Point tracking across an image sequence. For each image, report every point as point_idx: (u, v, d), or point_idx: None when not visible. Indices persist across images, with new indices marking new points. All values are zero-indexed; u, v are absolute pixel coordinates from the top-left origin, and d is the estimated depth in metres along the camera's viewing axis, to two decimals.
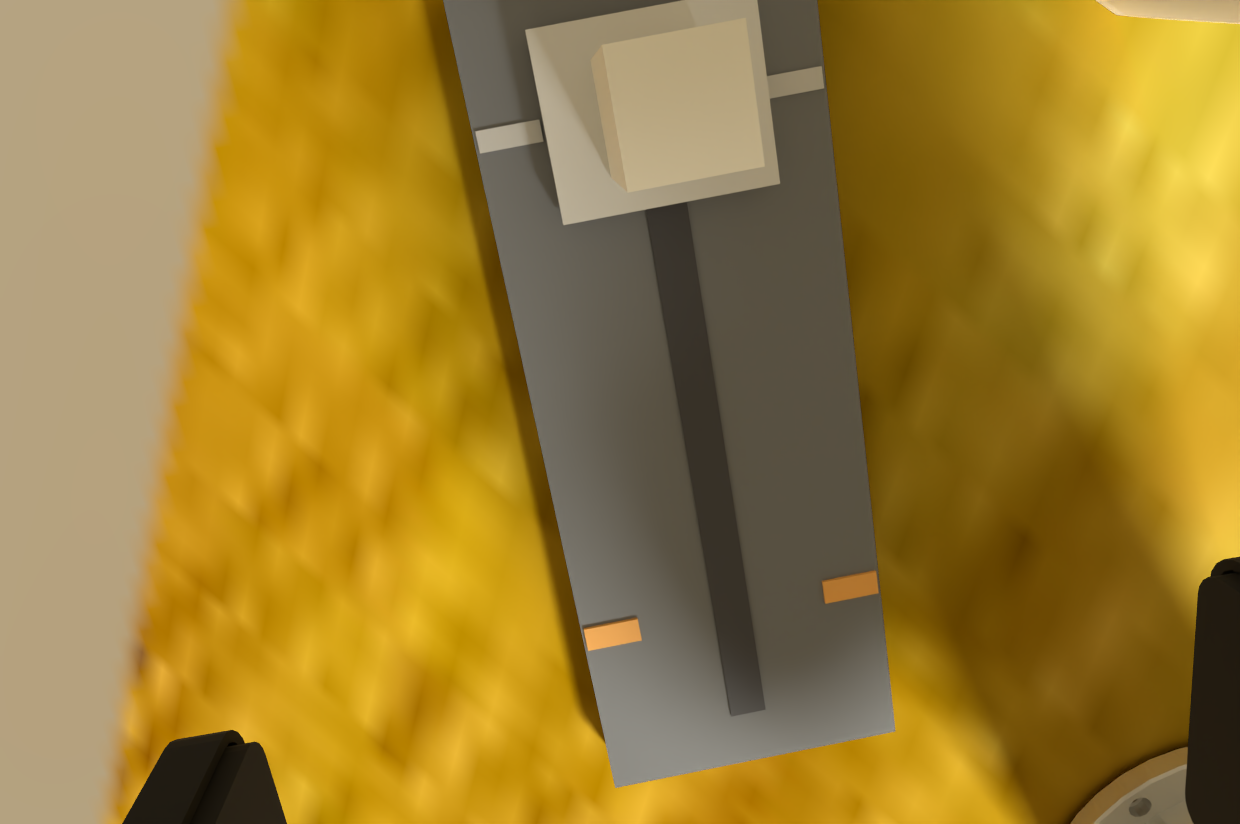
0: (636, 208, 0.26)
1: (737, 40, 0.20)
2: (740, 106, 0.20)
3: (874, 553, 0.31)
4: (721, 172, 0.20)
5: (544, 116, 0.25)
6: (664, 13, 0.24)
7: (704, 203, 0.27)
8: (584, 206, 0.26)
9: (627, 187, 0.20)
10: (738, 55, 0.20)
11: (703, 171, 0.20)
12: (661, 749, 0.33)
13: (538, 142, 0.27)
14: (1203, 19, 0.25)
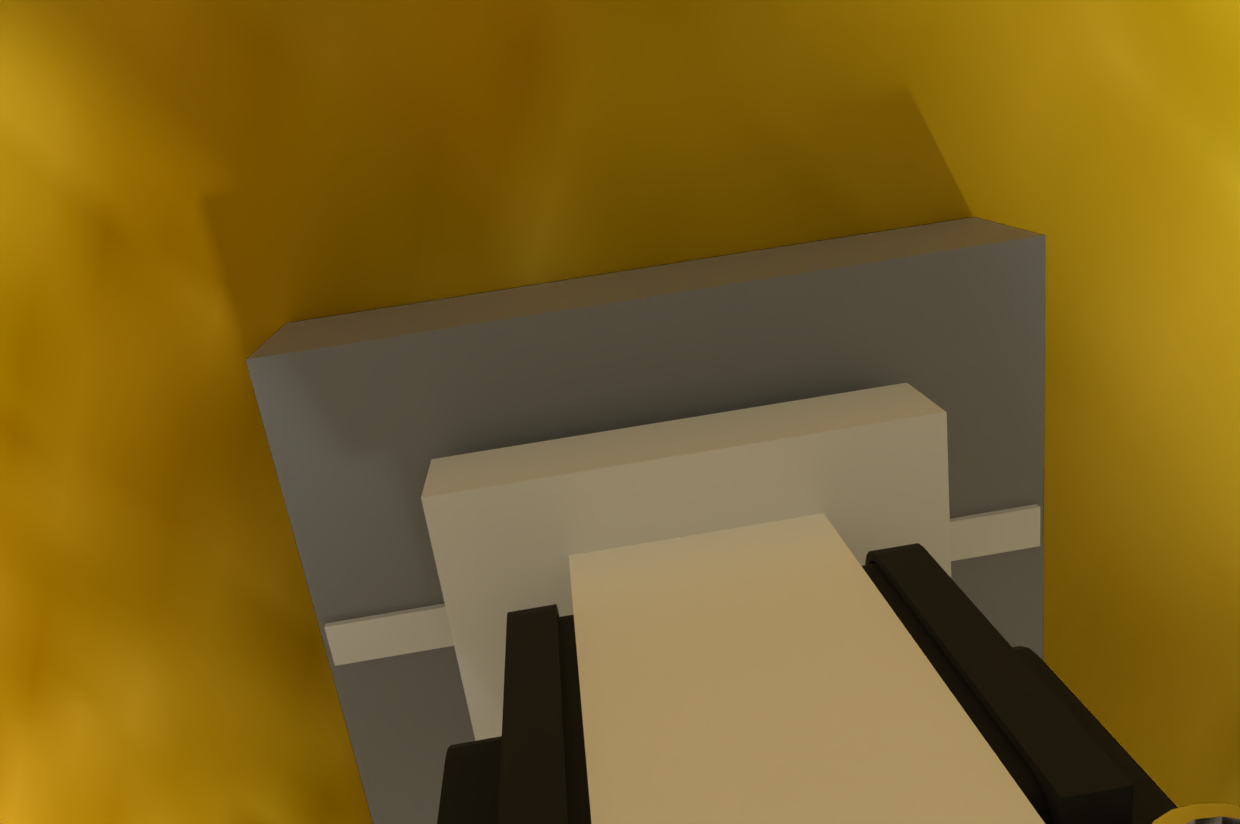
0: None
1: None
2: None
3: None
4: None
5: (463, 660, 0.11)
6: (739, 464, 0.11)
7: None
8: None
9: None
10: None
11: None
12: None
13: None
14: None
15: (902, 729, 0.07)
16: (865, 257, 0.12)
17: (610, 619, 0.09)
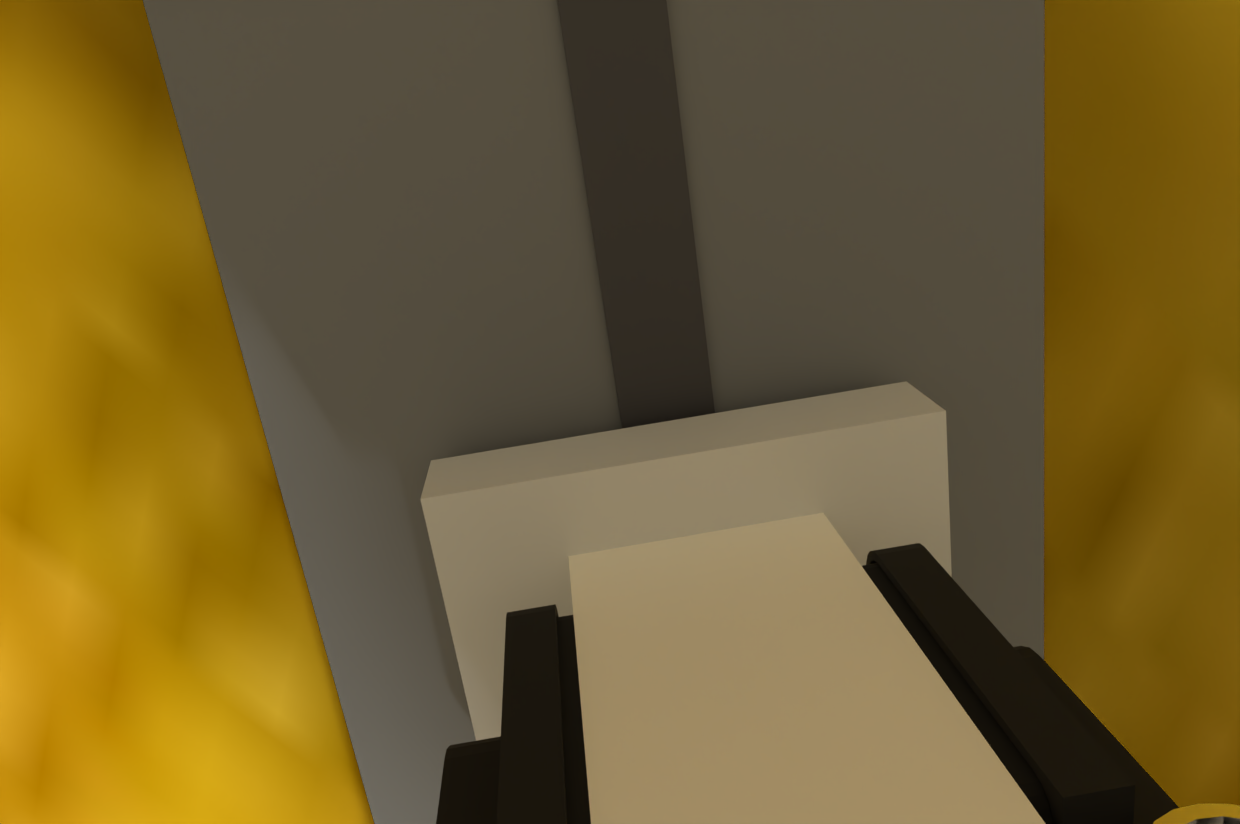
0: None
1: None
2: None
3: None
4: None
5: (463, 661, 0.11)
6: (739, 464, 0.11)
7: (724, 140, 0.11)
8: None
9: None
10: None
11: None
12: None
13: None
14: None
15: (902, 729, 0.07)
16: None
17: (610, 619, 0.09)
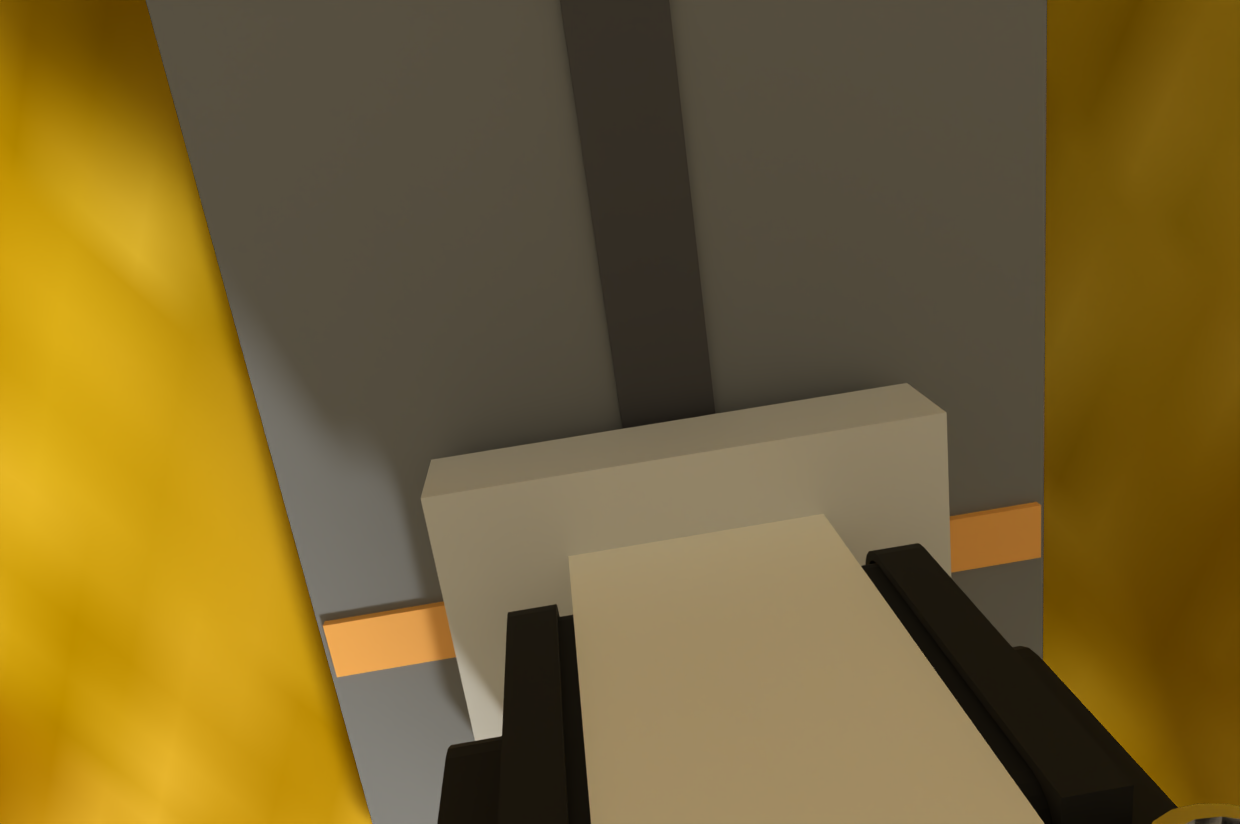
0: None
1: None
2: None
3: (1039, 460, 0.13)
4: None
5: (463, 661, 0.11)
6: (739, 465, 0.11)
7: None
8: None
9: None
10: None
11: None
12: None
13: None
14: None
15: (902, 730, 0.07)
16: None
17: (610, 619, 0.09)
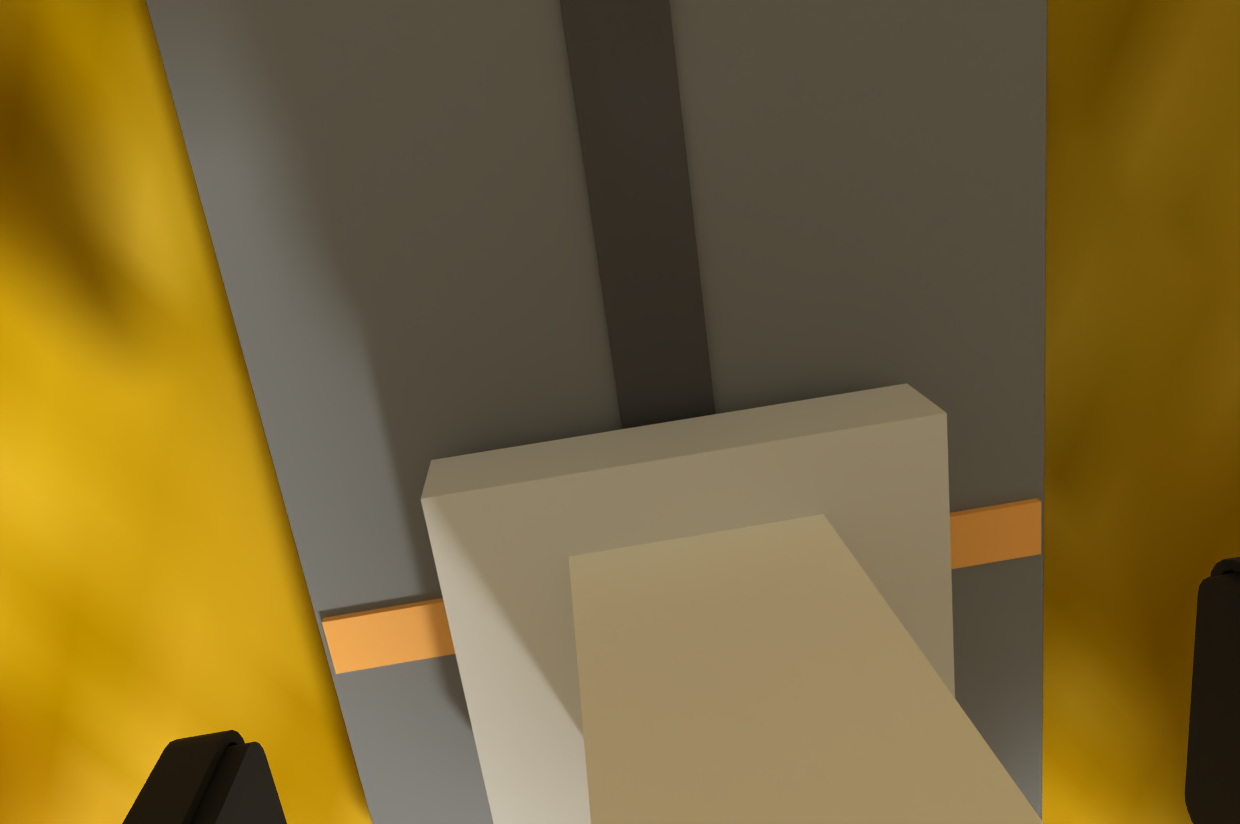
0: None
1: None
2: None
3: (1039, 456, 0.13)
4: None
5: (463, 661, 0.11)
6: (739, 465, 0.11)
7: None
8: (546, 820, 0.12)
9: None
10: None
11: None
12: None
13: None
14: None
15: (902, 731, 0.07)
16: None
17: (610, 620, 0.09)
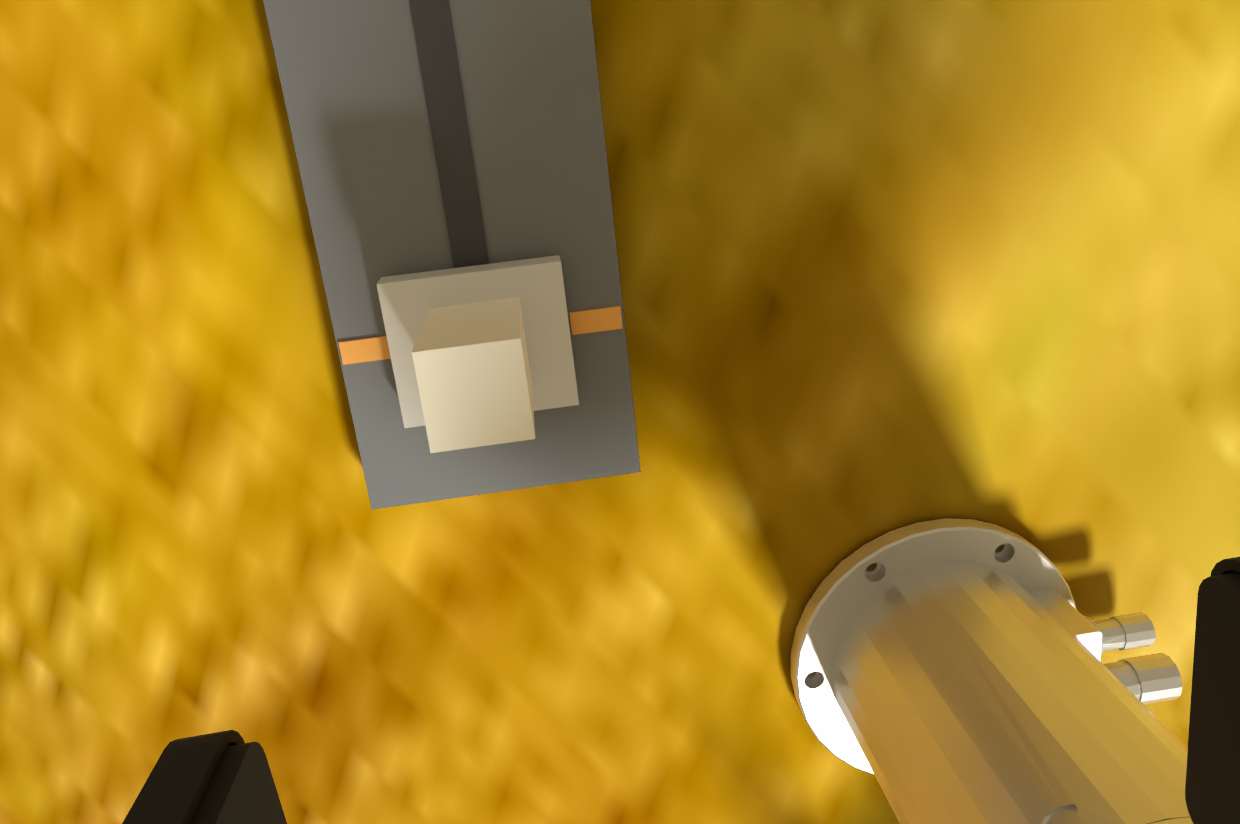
0: None
1: (514, 353, 0.26)
2: (516, 397, 0.27)
3: (619, 288, 0.33)
4: (502, 442, 0.27)
5: (390, 347, 0.31)
6: (488, 277, 0.31)
7: None
8: (421, 414, 0.32)
9: (430, 449, 0.27)
10: (515, 363, 0.26)
11: (488, 440, 0.27)
12: (416, 473, 0.35)
13: None
14: None
15: (502, 327, 0.28)
16: None
17: (436, 318, 0.30)
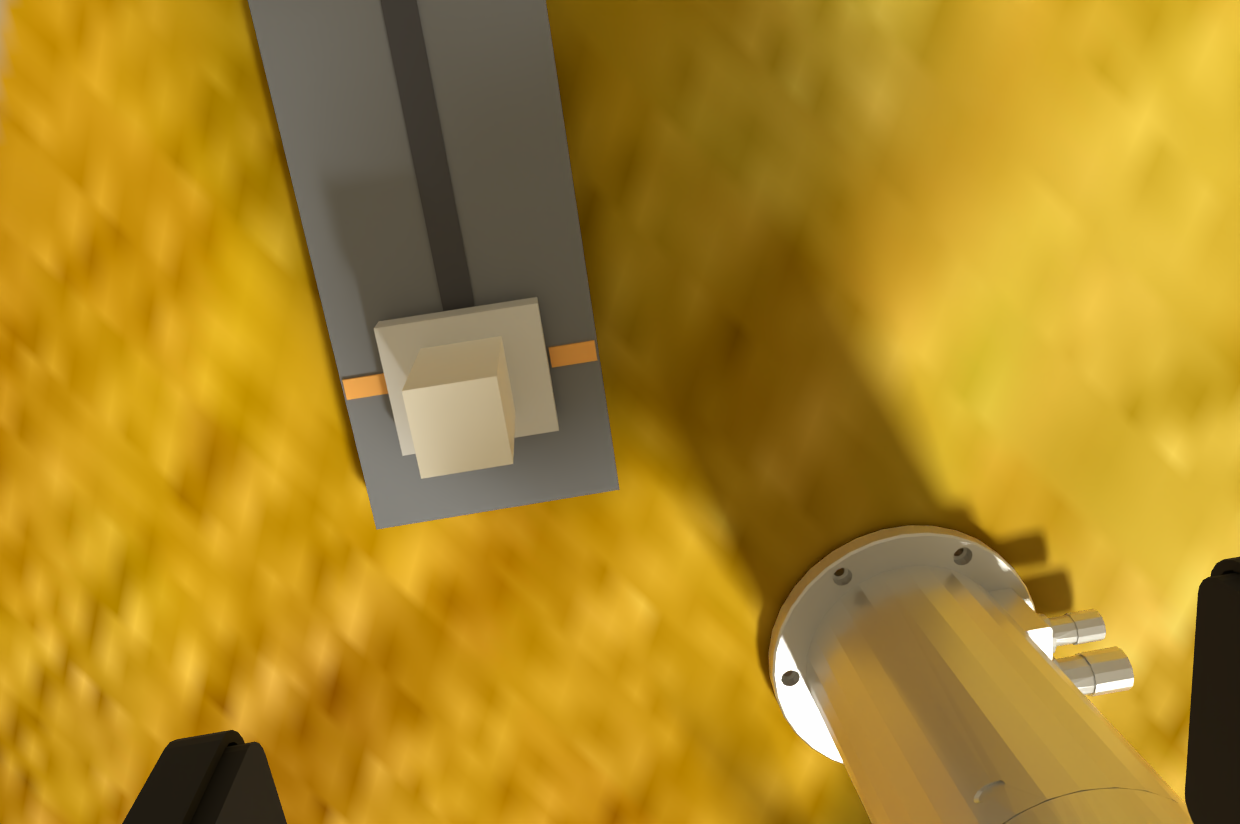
0: None
1: (491, 389, 0.30)
2: (495, 428, 0.30)
3: (593, 324, 0.37)
4: (483, 467, 0.31)
5: (388, 384, 0.35)
6: (472, 319, 0.35)
7: (431, 0, 0.33)
8: None
9: (421, 475, 0.31)
10: (492, 397, 0.30)
11: (472, 466, 0.31)
12: (415, 495, 0.38)
13: None
14: None
15: (482, 366, 0.31)
16: None
17: (426, 357, 0.33)
